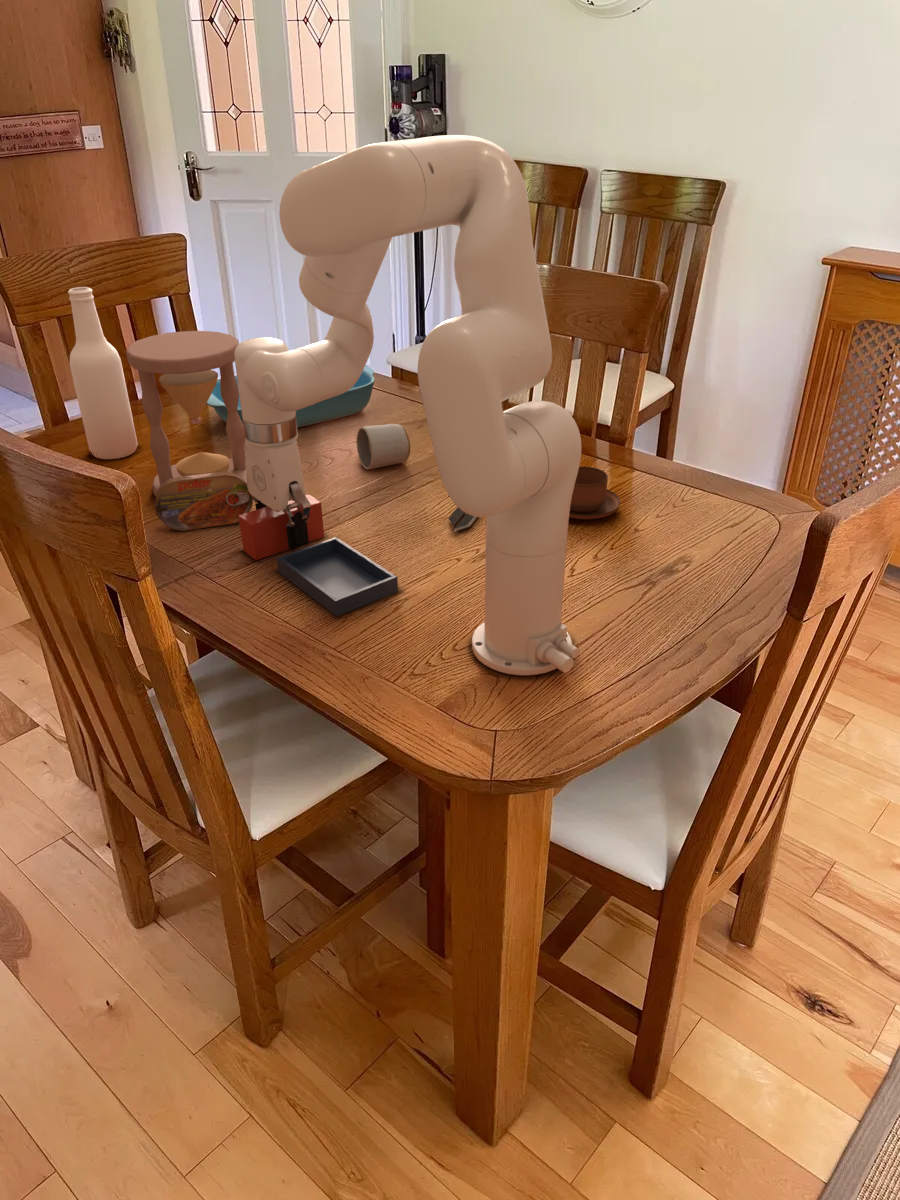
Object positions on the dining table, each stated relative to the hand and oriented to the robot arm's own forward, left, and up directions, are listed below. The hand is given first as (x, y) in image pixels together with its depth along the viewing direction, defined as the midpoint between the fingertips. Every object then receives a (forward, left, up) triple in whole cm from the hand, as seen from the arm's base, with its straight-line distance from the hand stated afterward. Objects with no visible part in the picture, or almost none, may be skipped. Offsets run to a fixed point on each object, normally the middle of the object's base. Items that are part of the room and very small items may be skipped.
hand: (283, 535), depth 136 cm
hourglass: (+27, 0, -2) cm, 27 cm away
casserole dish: (+50, -31, -2) cm, 59 cm away
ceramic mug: (+17, -30, -2) cm, 35 cm away
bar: (0, 0, -1) cm, 1 cm away
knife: (-8, -33, -2) cm, 34 cm away
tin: (+14, +6, -2) cm, 15 cm away
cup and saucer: (-21, -44, -2) cm, 49 cm away
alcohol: (+54, +6, -2) cm, 54 cm away
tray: (-15, 0, -1) cm, 15 cm away
